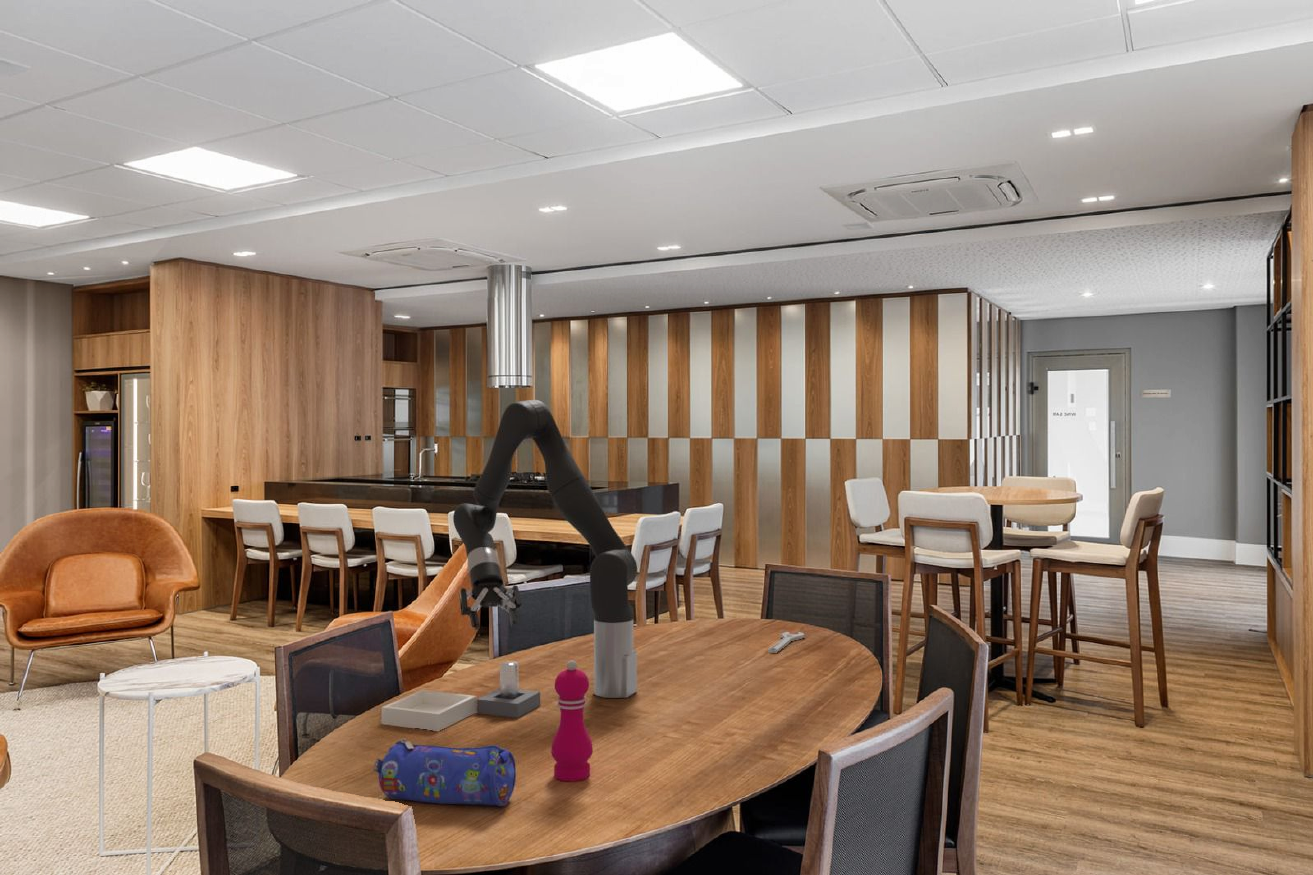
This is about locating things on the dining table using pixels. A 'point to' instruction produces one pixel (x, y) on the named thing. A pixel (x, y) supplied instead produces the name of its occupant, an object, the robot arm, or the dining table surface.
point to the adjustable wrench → (785, 641)
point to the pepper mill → (571, 726)
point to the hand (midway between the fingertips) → (495, 626)
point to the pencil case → (447, 774)
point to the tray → (429, 710)
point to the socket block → (508, 703)
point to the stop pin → (509, 680)
